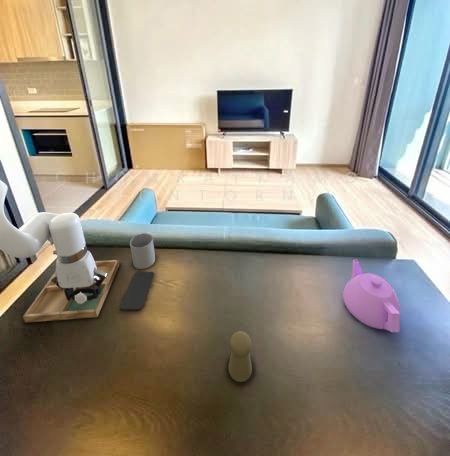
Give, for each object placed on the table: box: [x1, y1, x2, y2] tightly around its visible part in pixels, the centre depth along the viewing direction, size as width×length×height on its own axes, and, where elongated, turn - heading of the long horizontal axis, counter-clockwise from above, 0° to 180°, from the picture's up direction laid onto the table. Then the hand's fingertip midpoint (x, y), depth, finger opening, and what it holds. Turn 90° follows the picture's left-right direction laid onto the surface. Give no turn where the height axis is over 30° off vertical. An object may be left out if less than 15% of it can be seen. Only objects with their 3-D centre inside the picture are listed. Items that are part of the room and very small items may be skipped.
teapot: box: [342, 259, 402, 333], centre depth 77 cm, size 22×16×12 cm
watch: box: [71, 288, 94, 304], centre depth 81 cm, size 8×5×4 cm, turn 87°
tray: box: [22, 259, 120, 323], centre depth 86 cm, size 21×21×2 cm
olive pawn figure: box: [228, 330, 253, 383], centre depth 62 cm, size 6×6×11 cm
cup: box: [129, 232, 156, 270], centre depth 97 cm, size 8×8×10 cm
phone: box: [119, 270, 155, 312], centre depth 86 cm, size 7×1×15 cm
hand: (84, 295), depth 81 cm, fingers closed on watch, 7 cm apart
